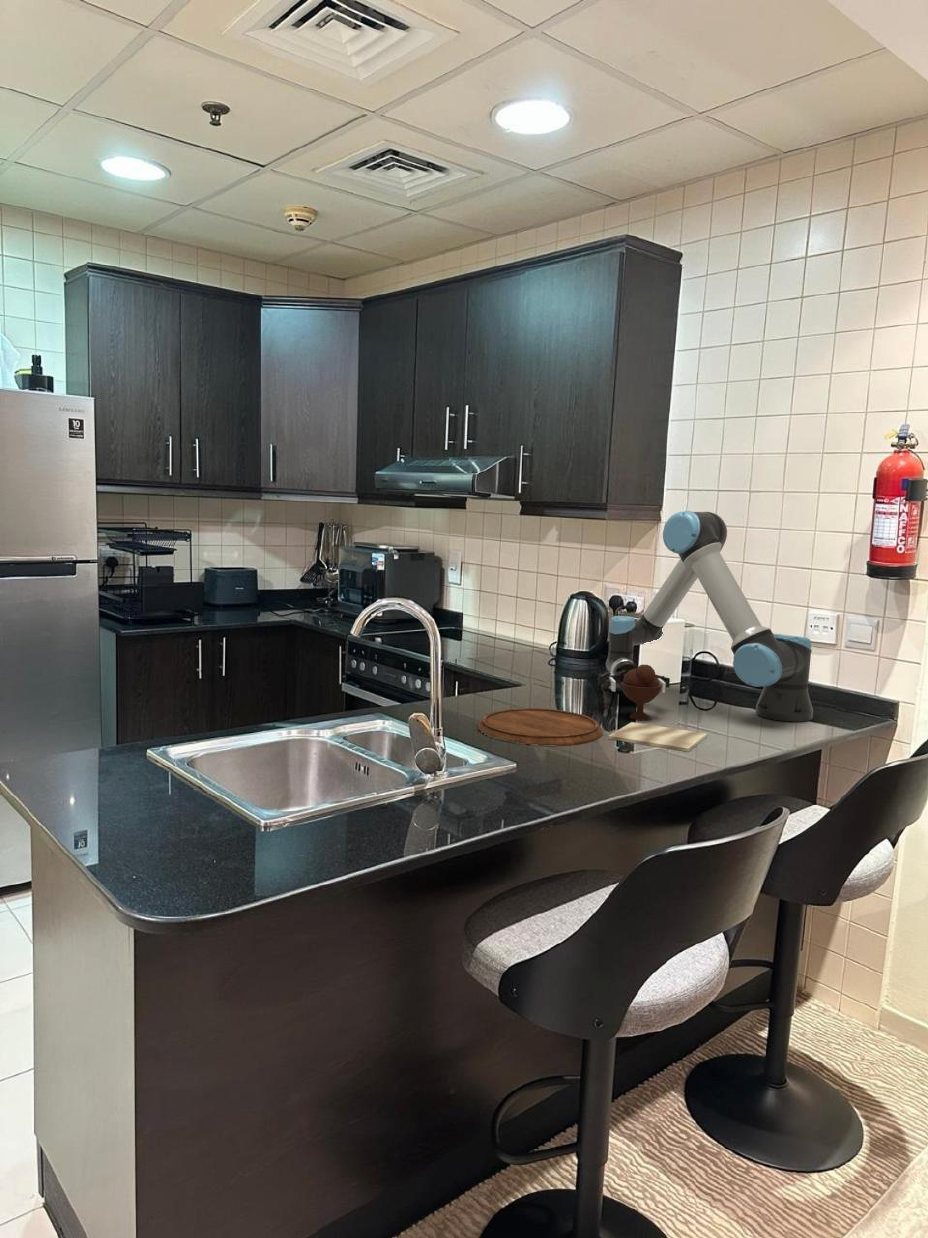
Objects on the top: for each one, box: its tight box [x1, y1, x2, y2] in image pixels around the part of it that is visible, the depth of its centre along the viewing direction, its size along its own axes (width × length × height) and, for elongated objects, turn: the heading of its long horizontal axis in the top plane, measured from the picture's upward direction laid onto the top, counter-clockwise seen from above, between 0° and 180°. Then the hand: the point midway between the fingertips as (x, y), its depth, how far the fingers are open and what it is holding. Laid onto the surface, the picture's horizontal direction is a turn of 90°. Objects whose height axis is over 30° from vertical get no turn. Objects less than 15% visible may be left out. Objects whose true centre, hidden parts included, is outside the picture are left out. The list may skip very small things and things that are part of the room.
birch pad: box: [607, 721, 708, 752], centre depth 217 cm, size 20×17×1 cm
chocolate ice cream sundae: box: [620, 664, 662, 721], centre depth 237 cm, size 11×11×15 cm
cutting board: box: [477, 707, 604, 747], centre depth 223 cm, size 32×32×2 cm
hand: (639, 687), depth 238 cm, fingers open, 13 cm apart
